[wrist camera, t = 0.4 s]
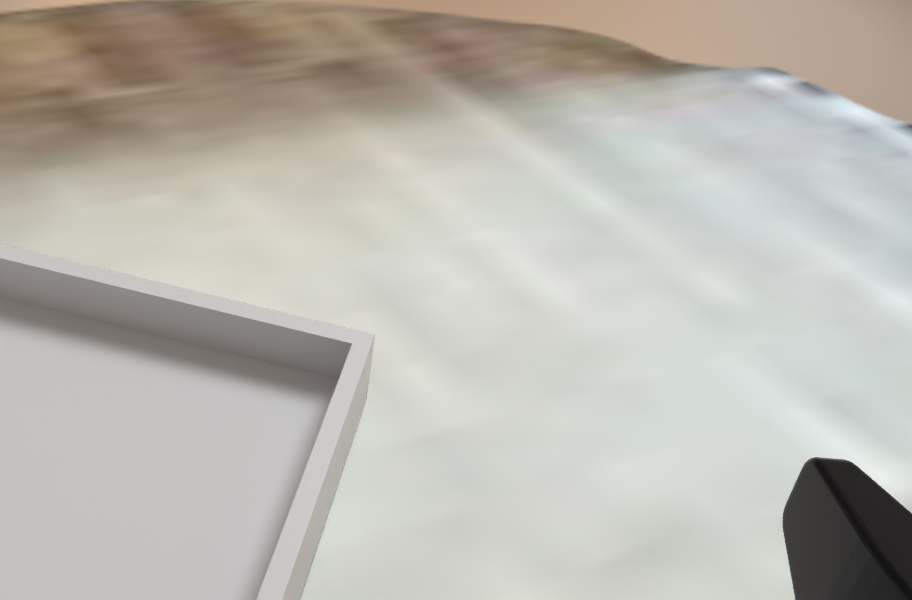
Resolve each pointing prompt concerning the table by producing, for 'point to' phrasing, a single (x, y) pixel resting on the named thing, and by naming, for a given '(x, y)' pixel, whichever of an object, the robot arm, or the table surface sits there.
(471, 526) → the table surface
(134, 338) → the tray
